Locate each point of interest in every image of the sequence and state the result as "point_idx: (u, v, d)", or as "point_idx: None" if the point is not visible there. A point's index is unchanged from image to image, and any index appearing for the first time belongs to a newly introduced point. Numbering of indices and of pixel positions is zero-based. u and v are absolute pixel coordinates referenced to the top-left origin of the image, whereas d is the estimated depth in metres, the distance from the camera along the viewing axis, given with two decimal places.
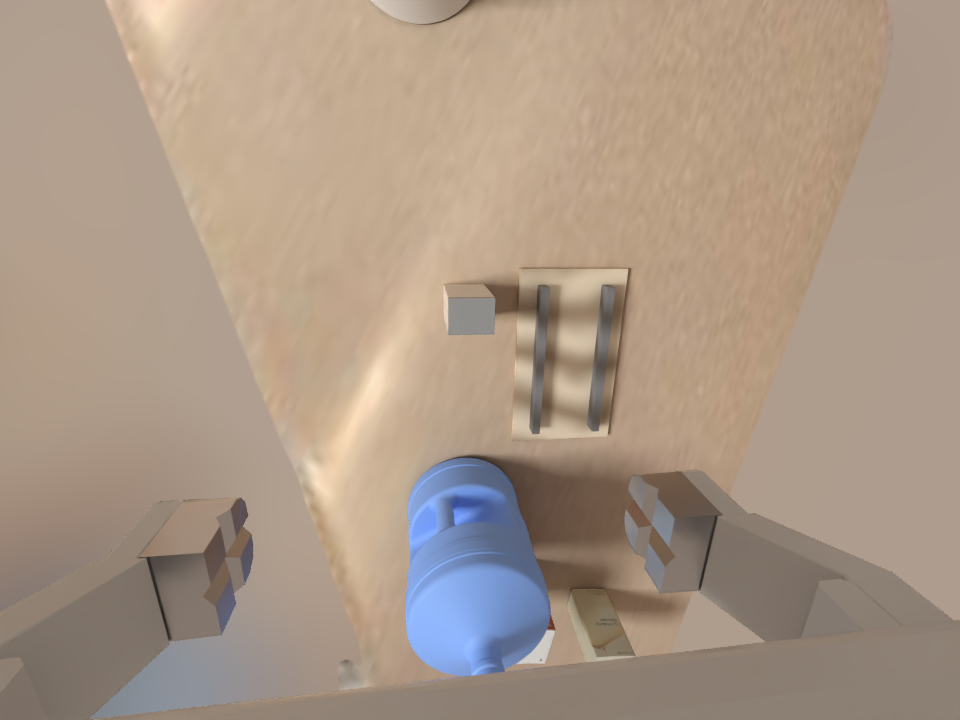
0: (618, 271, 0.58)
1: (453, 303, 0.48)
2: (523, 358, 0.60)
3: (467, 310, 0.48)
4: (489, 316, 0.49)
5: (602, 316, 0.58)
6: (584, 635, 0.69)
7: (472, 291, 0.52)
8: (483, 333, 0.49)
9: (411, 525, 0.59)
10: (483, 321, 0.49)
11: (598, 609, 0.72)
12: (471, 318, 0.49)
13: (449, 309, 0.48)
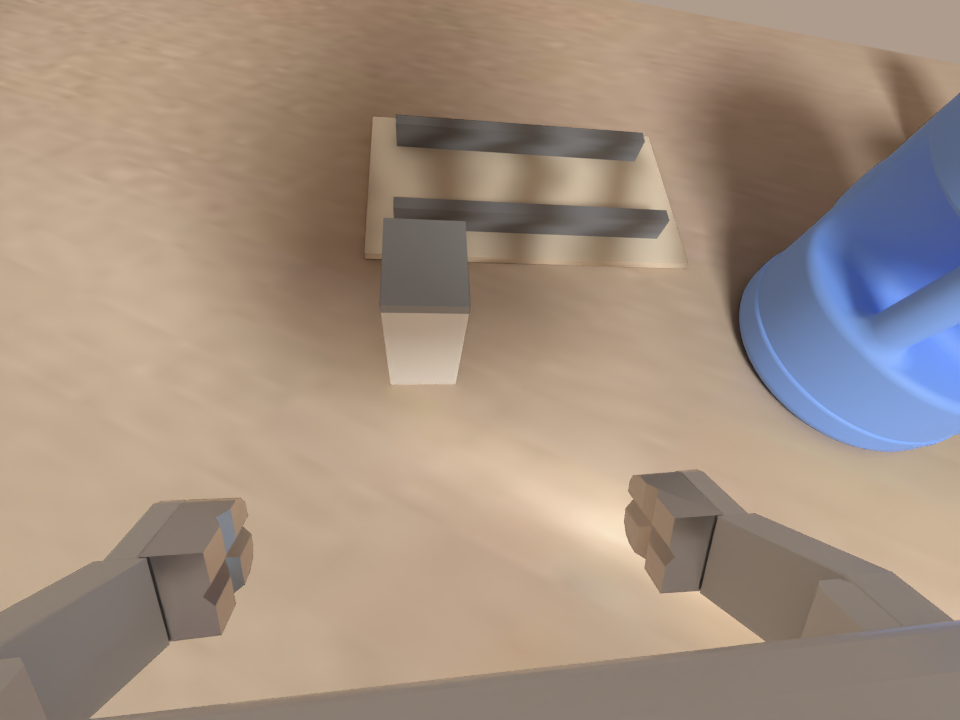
0: (376, 127, 0.37)
1: (392, 295, 0.20)
2: (529, 248, 0.33)
3: (410, 267, 0.21)
4: (424, 228, 0.22)
5: (446, 135, 0.35)
6: None
7: None
8: (464, 240, 0.22)
9: None
10: (436, 239, 0.22)
11: None
12: (429, 261, 0.21)
13: (406, 303, 0.20)
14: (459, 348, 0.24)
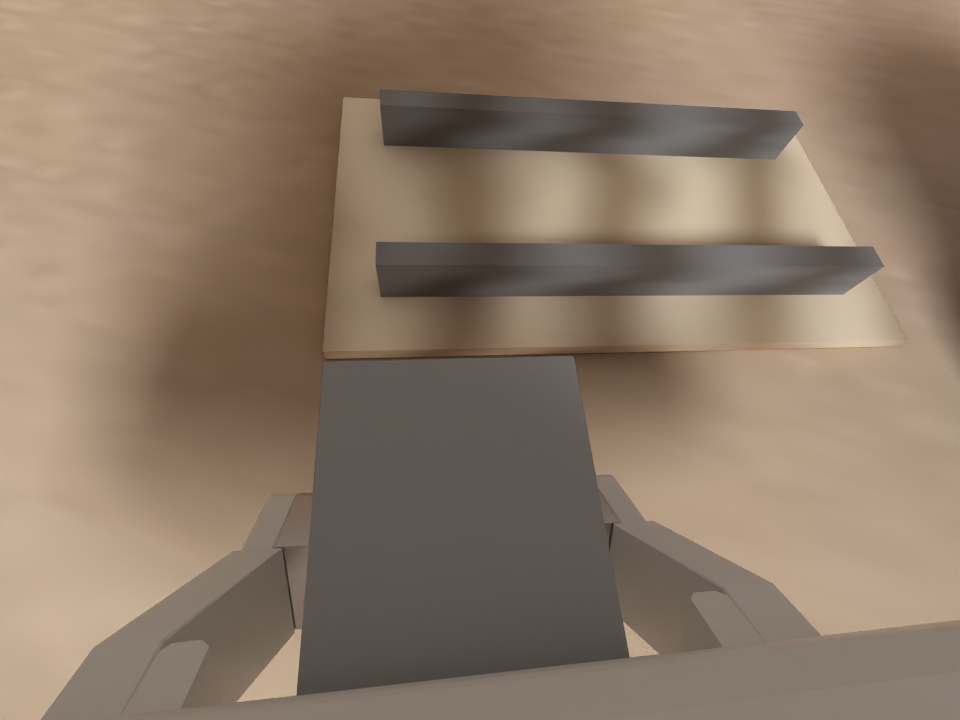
0: (349, 114, 0.22)
1: None
2: (629, 324, 0.18)
3: (410, 561, 0.06)
4: (454, 392, 0.07)
5: (469, 123, 0.20)
6: None
7: None
8: (578, 424, 0.07)
9: None
10: (492, 430, 0.07)
11: None
12: (476, 524, 0.06)
13: None
14: None
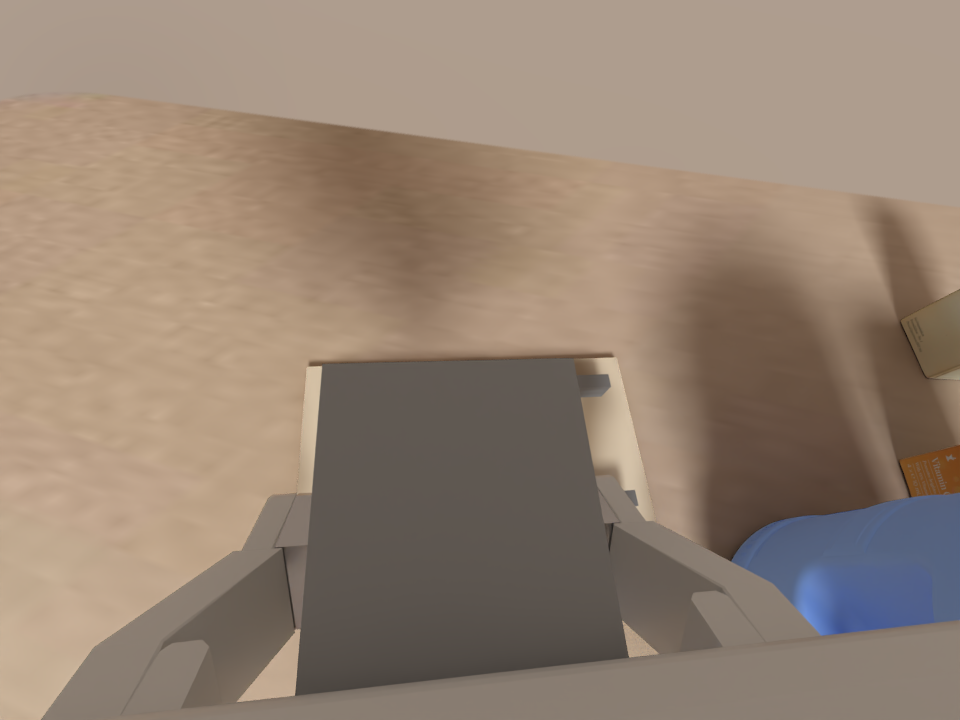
0: (310, 382, 0.33)
1: None
2: None
3: (409, 564, 0.06)
4: (453, 394, 0.07)
5: None
6: None
7: None
8: (578, 427, 0.07)
9: None
10: (492, 433, 0.07)
11: (959, 324, 0.38)
12: (475, 527, 0.06)
13: None
14: None
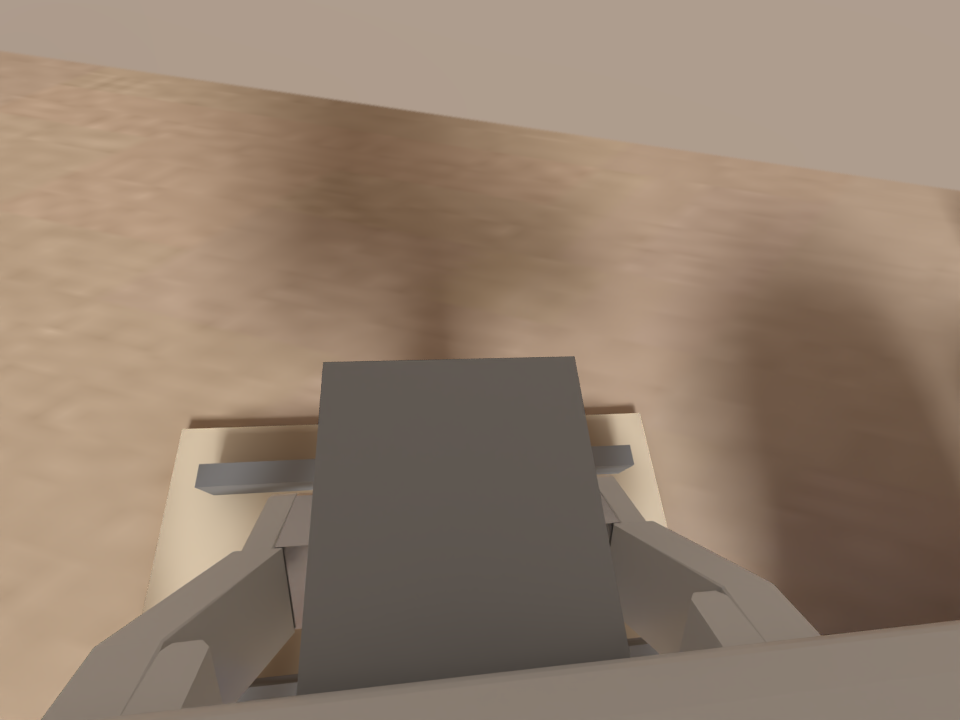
0: (184, 453, 0.22)
1: None
2: None
3: (411, 562, 0.06)
4: (454, 392, 0.07)
5: (292, 485, 0.21)
6: None
7: None
8: (579, 425, 0.07)
9: None
10: (493, 431, 0.07)
11: None
12: (476, 525, 0.06)
13: None
14: None
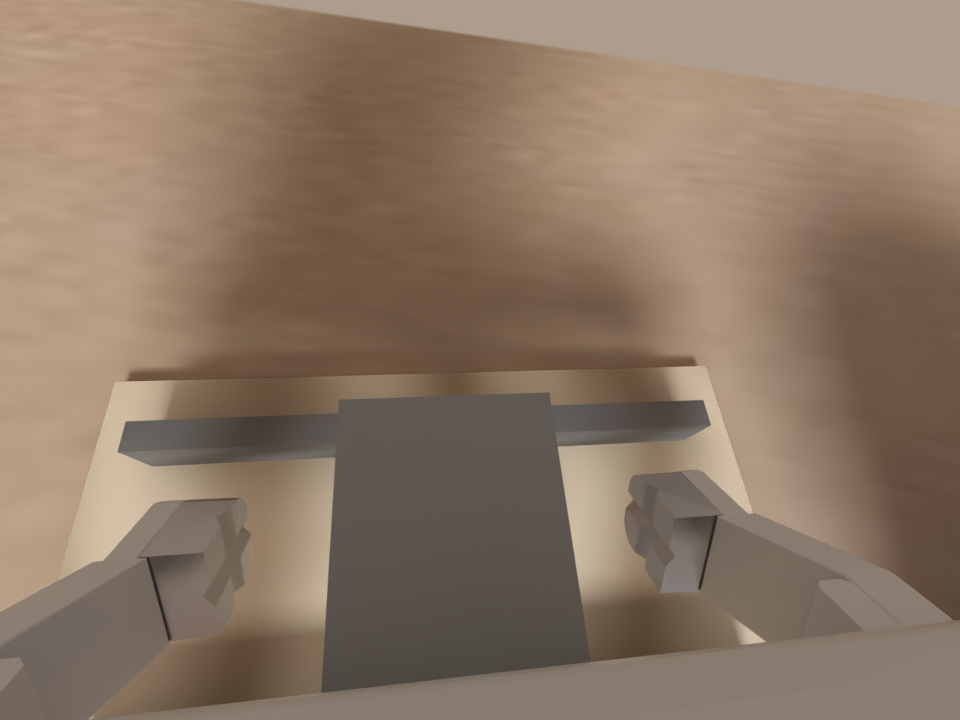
0: (116, 412, 0.17)
1: None
2: None
3: (412, 566, 0.07)
4: (448, 425, 0.08)
5: (255, 451, 0.15)
6: None
7: None
8: (552, 452, 0.08)
9: None
10: (480, 457, 0.08)
11: None
12: (465, 536, 0.08)
13: None
14: None
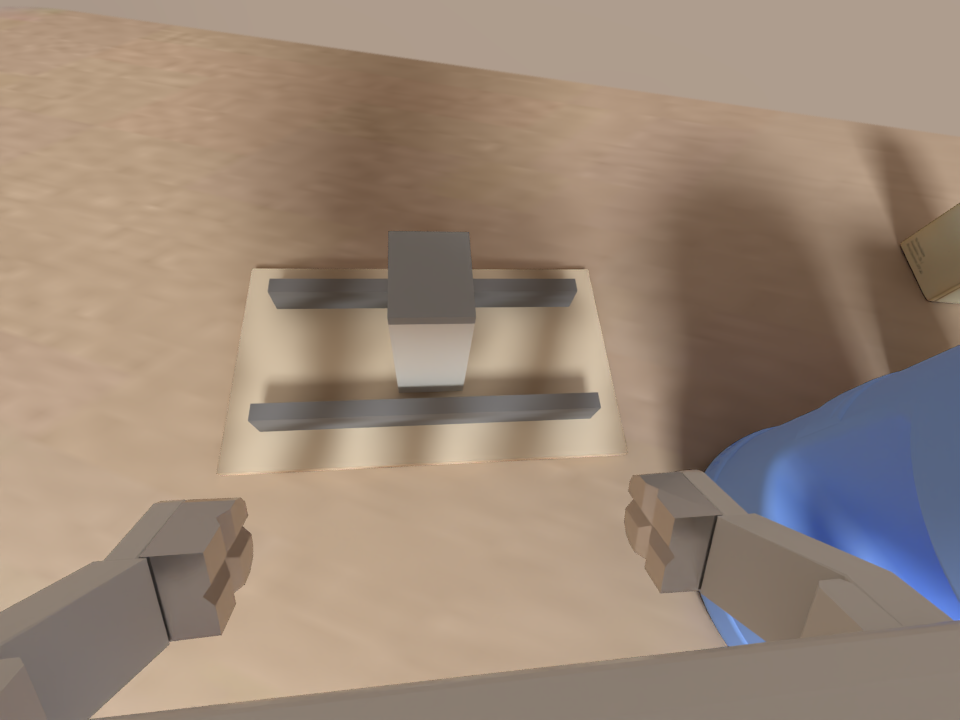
0: (255, 283, 0.31)
1: (399, 307, 0.21)
2: (429, 446, 0.27)
3: (416, 279, 0.21)
4: (429, 240, 0.22)
5: (333, 297, 0.29)
6: None
7: None
8: (468, 250, 0.22)
9: None
10: (440, 250, 0.22)
11: None
12: (434, 272, 0.22)
13: (413, 315, 0.20)
14: (466, 356, 0.24)
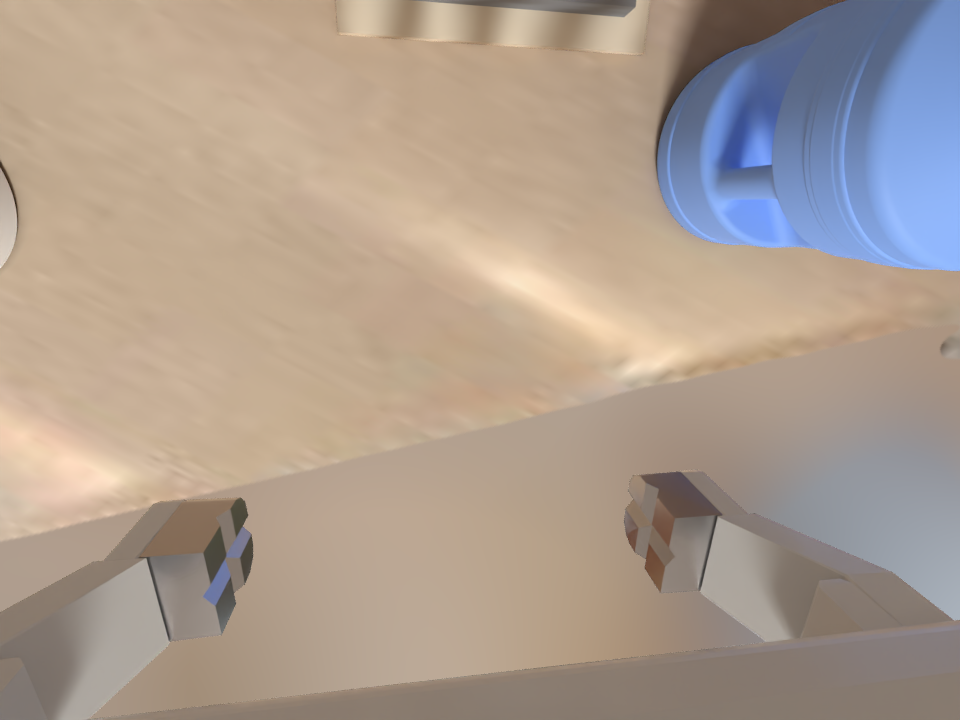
0: None
1: None
2: (494, 28, 0.35)
3: None
4: None
5: None
6: None
7: None
8: None
9: (751, 242, 0.36)
10: None
11: None
12: None
13: None
14: None
